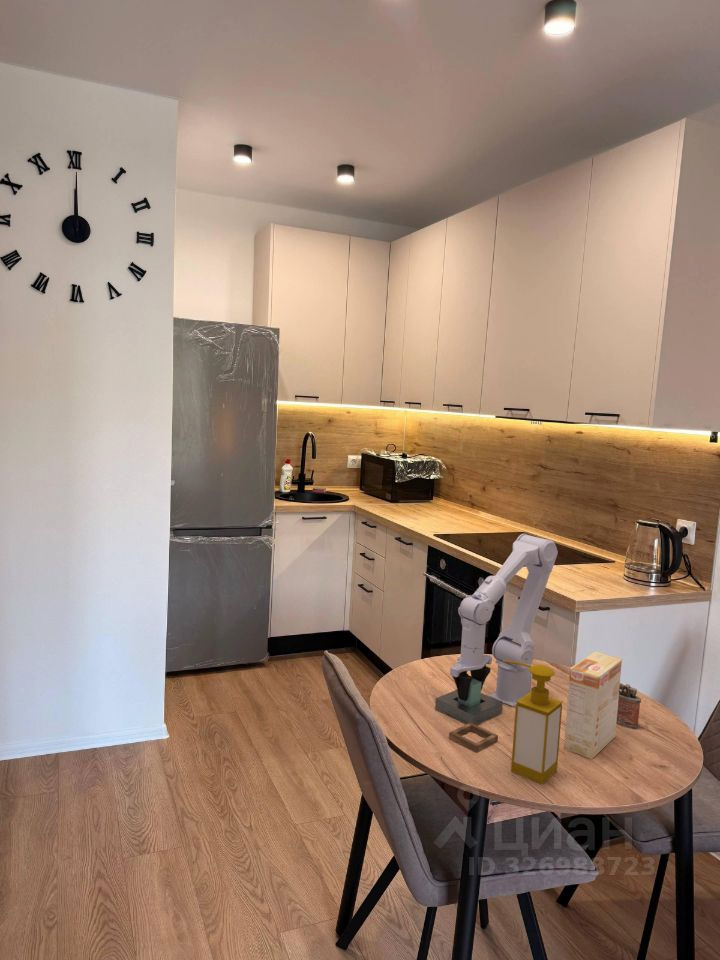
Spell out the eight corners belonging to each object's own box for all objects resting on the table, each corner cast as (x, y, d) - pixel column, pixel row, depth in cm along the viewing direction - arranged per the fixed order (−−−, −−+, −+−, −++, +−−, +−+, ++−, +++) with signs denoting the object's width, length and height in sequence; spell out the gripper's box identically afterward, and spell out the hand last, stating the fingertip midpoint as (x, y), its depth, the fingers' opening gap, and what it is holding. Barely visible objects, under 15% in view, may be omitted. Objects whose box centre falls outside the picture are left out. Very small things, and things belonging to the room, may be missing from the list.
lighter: (640, 726, 169) (644, 687, 168) (635, 730, 166) (639, 691, 165) (608, 715, 174) (612, 677, 173) (603, 719, 172) (606, 681, 171)
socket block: (464, 696, 181) (465, 686, 181) (501, 713, 173) (502, 702, 172) (435, 709, 173) (435, 698, 173) (472, 727, 164) (473, 715, 164)
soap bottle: (503, 749, 154) (510, 649, 152) (556, 770, 146) (565, 665, 144) (488, 761, 149) (495, 658, 146) (542, 784, 141) (551, 675, 138)
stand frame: (470, 728, 164) (470, 722, 164) (497, 741, 158) (498, 735, 158) (448, 738, 158) (449, 732, 158) (476, 752, 153) (476, 746, 152)
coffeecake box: (587, 726, 167) (594, 650, 165) (616, 737, 163) (623, 658, 161) (561, 748, 156) (568, 667, 154) (592, 760, 151) (599, 676, 149)
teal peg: (467, 706, 176) (468, 676, 175) (479, 712, 173) (481, 681, 172) (457, 710, 173) (459, 680, 172) (469, 716, 170) (471, 685, 169)
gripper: (477, 634, 179) (474, 684, 180) (441, 646, 169) (438, 698, 170) (499, 642, 174) (496, 693, 175) (464, 655, 164) (460, 708, 165)
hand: (469, 696), depth 172 cm, fingers open, 5 cm apart
